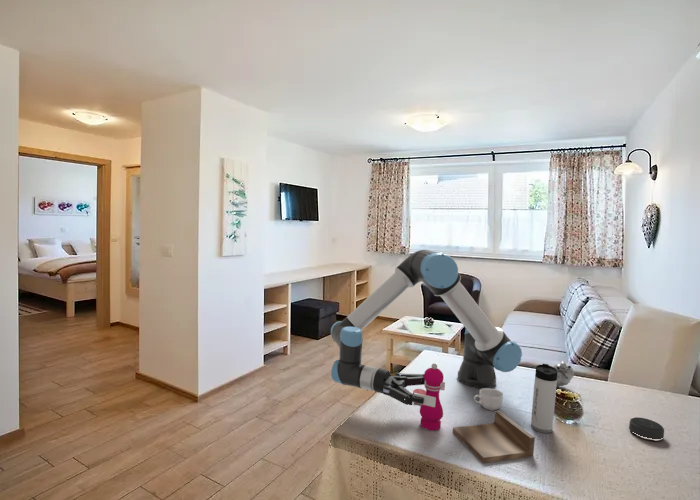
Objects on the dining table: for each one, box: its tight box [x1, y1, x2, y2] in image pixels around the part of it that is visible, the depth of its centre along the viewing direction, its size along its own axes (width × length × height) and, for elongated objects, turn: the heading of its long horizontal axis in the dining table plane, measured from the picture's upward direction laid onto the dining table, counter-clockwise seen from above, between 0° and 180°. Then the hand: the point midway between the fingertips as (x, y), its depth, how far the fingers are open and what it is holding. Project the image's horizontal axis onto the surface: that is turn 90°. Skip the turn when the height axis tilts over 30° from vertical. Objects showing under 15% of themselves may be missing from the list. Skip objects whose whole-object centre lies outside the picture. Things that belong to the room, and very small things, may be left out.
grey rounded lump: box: [553, 361, 575, 387], centre depth 163 cm, size 10×10×12 cm
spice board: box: [452, 410, 536, 464], centre depth 119 cm, size 16×16×6 cm
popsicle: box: [412, 388, 426, 405], centre depth 146 cm, size 5×2×15 cm
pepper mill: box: [419, 363, 444, 431], centre depth 127 cm, size 7×7×20 cm
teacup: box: [473, 387, 504, 411], centre depth 142 cm, size 10×8×5 cm
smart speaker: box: [628, 416, 665, 439], centre depth 129 cm, size 9×9×4 cm
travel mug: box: [530, 363, 558, 434], centre depth 129 cm, size 6×7×20 cm
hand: (440, 393), depth 126 cm, fingers open, 13 cm apart
